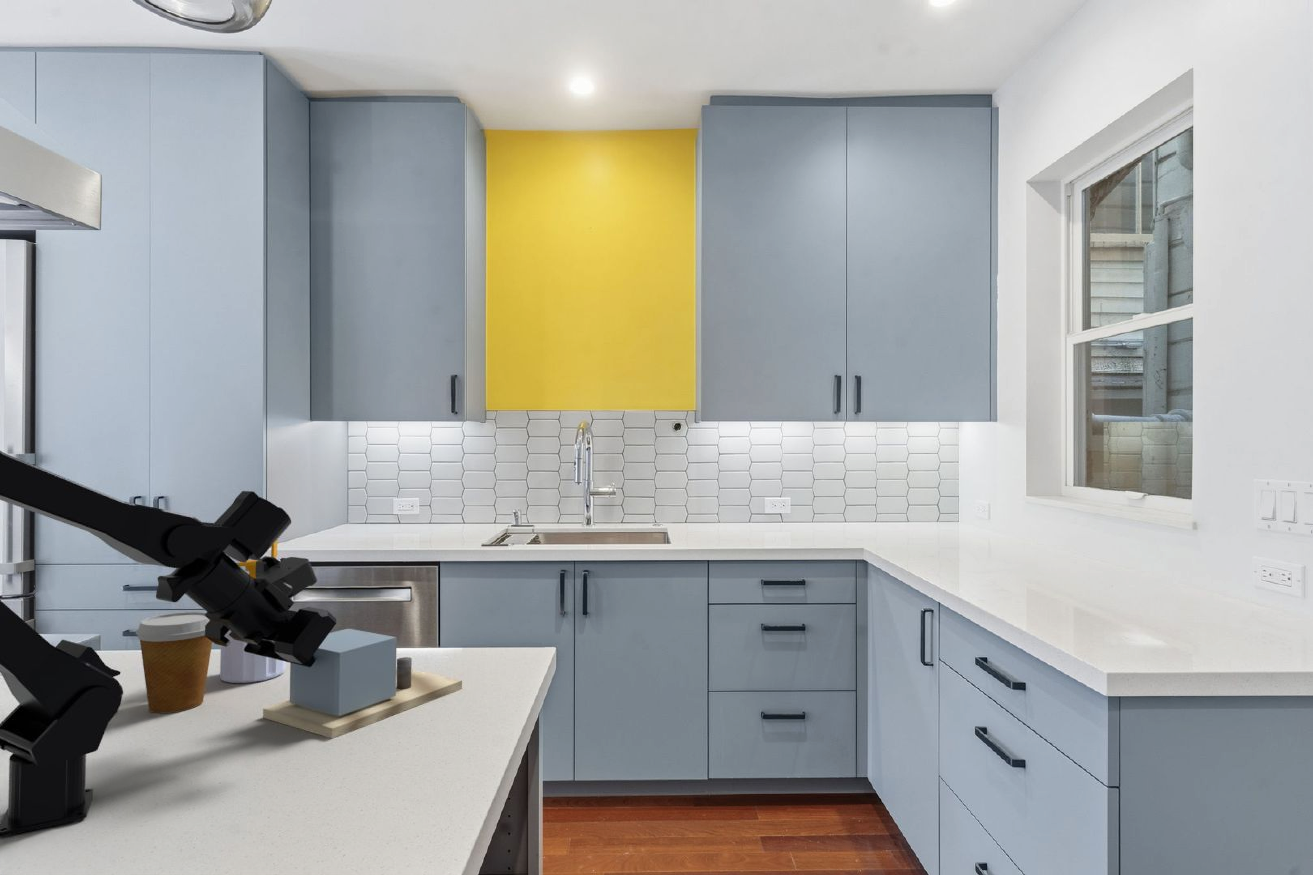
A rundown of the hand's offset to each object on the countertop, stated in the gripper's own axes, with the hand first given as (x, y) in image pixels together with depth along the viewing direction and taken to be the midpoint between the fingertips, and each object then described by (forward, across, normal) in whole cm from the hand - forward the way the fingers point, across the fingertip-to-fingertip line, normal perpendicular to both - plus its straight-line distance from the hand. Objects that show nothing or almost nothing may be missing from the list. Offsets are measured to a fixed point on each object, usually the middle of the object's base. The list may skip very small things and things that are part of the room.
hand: (311, 663), depth 95 cm
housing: (+8, 0, +1) cm, 8 cm away
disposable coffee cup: (+2, +22, +9) cm, 24 cm away
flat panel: (+12, 0, -1) cm, 12 cm away
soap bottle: (+12, +26, 0) cm, 28 cm away
